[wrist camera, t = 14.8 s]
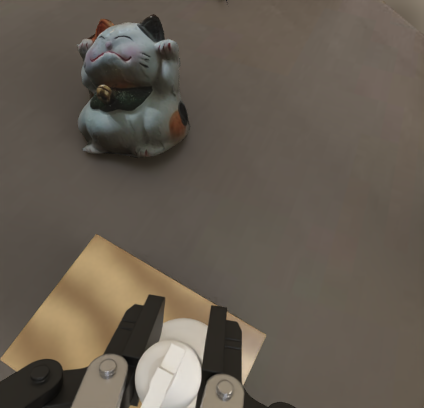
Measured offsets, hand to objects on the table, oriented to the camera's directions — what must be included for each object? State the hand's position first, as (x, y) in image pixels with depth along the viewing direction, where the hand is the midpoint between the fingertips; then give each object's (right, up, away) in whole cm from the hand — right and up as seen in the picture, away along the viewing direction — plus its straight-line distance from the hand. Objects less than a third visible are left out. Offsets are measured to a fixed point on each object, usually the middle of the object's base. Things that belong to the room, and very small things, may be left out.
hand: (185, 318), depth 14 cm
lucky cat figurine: (-9, +16, +29) cm, 34 cm away
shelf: (-5, -9, +18) cm, 20 cm away
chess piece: (0, -4, +3) cm, 5 cm away
